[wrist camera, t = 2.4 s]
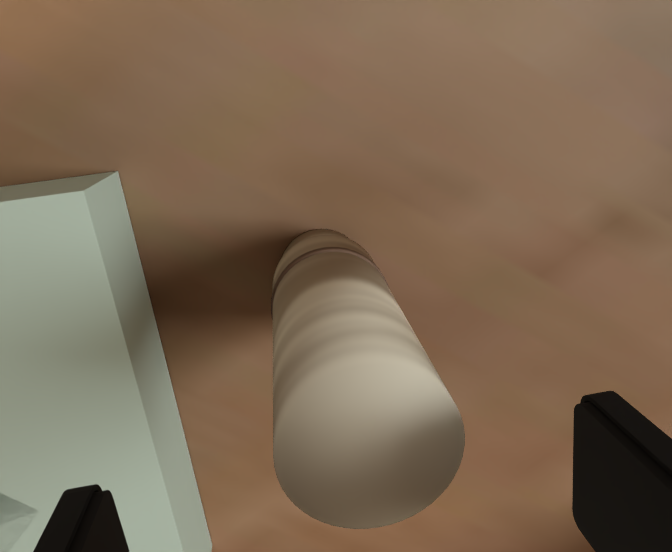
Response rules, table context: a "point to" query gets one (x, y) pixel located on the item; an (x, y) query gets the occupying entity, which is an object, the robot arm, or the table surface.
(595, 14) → the table surface
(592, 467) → the robot arm
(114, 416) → the board
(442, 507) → the table surface
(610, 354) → the table surface
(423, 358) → the peg
